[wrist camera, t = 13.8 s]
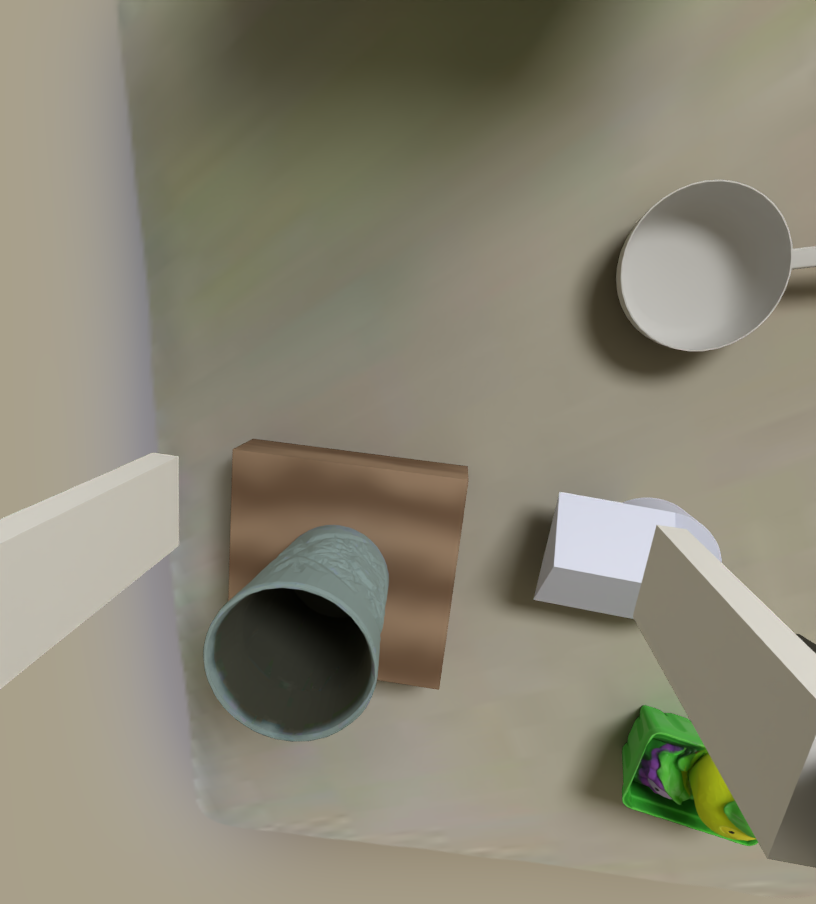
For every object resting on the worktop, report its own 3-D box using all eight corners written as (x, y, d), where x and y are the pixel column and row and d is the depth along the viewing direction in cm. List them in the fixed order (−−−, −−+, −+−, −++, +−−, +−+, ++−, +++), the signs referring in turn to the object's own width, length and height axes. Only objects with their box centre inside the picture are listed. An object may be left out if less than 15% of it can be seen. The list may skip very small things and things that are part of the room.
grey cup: (273, 621, 42) (203, 730, 31) (275, 504, 40) (200, 574, 29) (395, 636, 42) (371, 754, 30) (404, 518, 39) (382, 596, 28)
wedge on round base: (527, 579, 44) (683, 609, 43) (539, 622, 37) (723, 658, 37) (551, 479, 42) (715, 508, 41) (568, 506, 35) (763, 542, 35)
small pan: (605, 204, 37) (621, 190, 33) (880, 169, 35) (930, 150, 31) (607, 356, 39) (623, 358, 36) (866, 332, 37) (911, 332, 34)
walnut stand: (253, 438, 43) (232, 449, 39) (467, 466, 42) (468, 479, 38) (245, 629, 48) (226, 656, 44) (440, 659, 46) (439, 689, 42)
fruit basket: (601, 757, 47) (645, 885, 36) (638, 676, 45) (696, 786, 34) (724, 794, 47) (805, 936, 36) (767, 715, 45) (867, 839, 34)
